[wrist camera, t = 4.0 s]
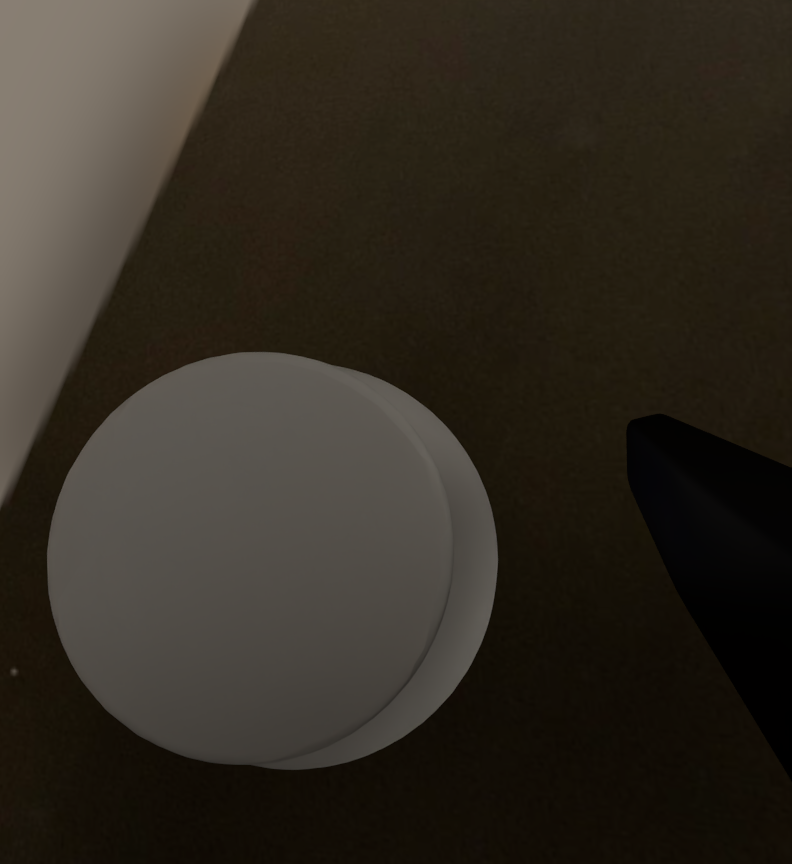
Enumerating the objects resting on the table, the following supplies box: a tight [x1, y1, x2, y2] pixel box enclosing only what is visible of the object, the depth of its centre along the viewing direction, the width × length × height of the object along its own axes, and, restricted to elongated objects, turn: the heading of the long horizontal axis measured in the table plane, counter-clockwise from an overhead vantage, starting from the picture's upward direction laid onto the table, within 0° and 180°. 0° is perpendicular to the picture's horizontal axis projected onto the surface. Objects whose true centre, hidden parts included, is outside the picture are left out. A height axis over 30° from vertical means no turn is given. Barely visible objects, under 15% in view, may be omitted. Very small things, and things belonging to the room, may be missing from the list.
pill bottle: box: [47, 352, 498, 770], centre depth 12 cm, size 5×5×10 cm
